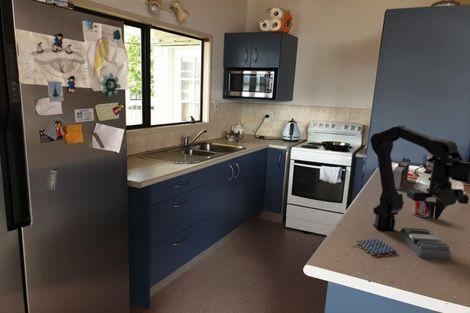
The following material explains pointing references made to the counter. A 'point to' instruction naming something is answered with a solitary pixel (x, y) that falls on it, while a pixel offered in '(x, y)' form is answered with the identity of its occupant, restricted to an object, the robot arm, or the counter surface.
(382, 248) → the woven mat
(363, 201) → the counter surface
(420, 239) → the gray block
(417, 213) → the soda can
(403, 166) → the graphics card
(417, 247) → the heat sink
